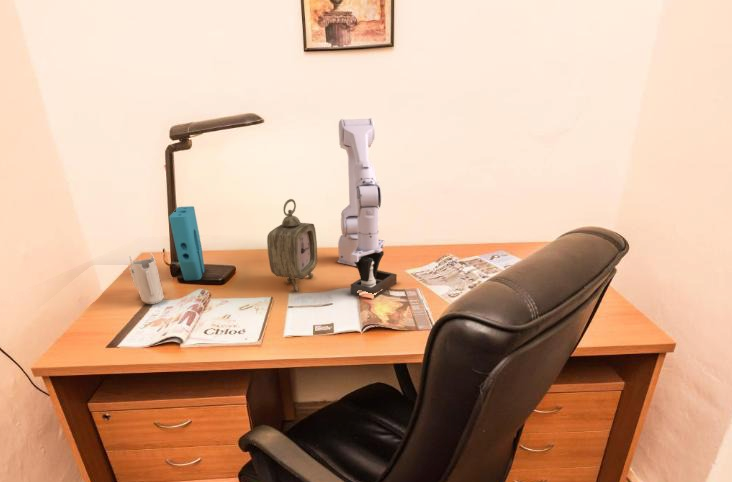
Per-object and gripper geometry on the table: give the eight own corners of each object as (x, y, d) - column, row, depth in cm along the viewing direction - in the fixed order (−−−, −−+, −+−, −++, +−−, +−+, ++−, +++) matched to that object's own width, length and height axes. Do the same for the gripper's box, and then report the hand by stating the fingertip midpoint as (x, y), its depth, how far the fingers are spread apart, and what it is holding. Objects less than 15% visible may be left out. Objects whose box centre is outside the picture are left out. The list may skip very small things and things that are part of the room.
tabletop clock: (298, 295, 139) (290, 207, 127) (270, 291, 142) (260, 204, 129) (318, 276, 151) (313, 194, 138) (292, 273, 153) (285, 192, 141)
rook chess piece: (363, 290, 137) (362, 263, 133) (359, 284, 140) (358, 257, 136) (378, 288, 138) (378, 261, 134) (373, 282, 141) (373, 256, 137)
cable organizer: (159, 288, 144) (150, 250, 138) (167, 304, 135) (157, 263, 129) (135, 293, 141) (124, 254, 135) (141, 309, 132) (130, 267, 126)
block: (190, 268, 158) (177, 206, 148) (206, 267, 159) (194, 206, 149) (182, 282, 148) (168, 217, 138) (199, 281, 148) (186, 216, 138)
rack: (372, 299, 136) (372, 289, 134) (350, 294, 139) (350, 284, 138) (396, 283, 145) (396, 274, 144) (375, 278, 149) (375, 269, 147)
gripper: (366, 241, 124) (366, 290, 131) (394, 226, 134) (393, 272, 141) (343, 236, 127) (345, 284, 134) (372, 223, 138) (372, 268, 145)
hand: (368, 278), depth 138 cm, fingers closed on rook chess piece, 3 cm apart
